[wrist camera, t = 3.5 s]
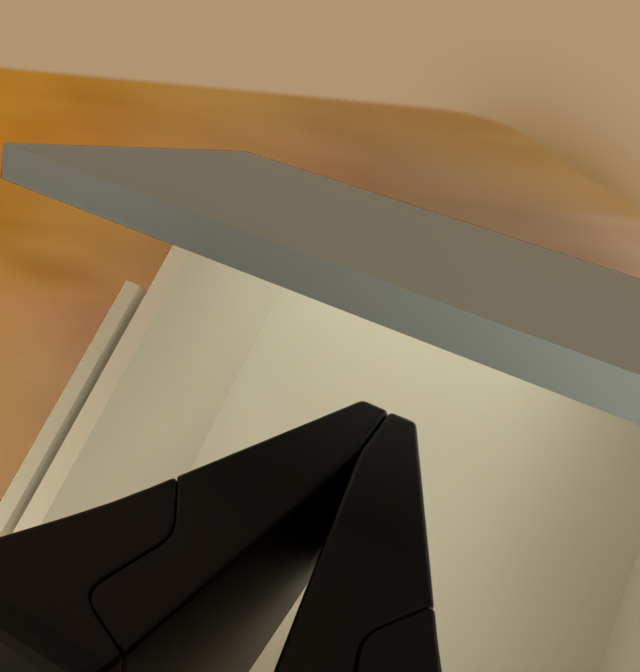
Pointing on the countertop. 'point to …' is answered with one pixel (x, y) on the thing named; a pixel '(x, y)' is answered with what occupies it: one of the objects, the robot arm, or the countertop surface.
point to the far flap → (368, 259)
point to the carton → (395, 397)
